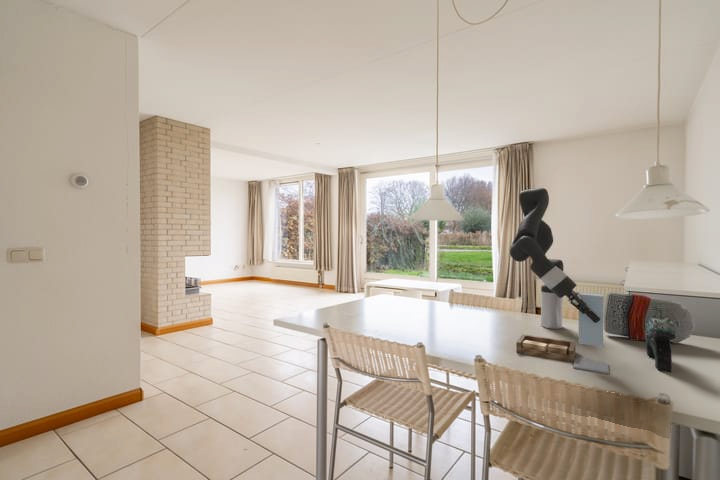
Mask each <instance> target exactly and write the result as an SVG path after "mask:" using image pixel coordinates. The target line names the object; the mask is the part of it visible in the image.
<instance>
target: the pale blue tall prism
mask: <svg viewBox="0 0 720 480" xmlns="http://www.w3.org/2000/svg"><path fill="white" fill-rule="evenodd" d="M578 293H579V295H580V296H581V298H582V299H583V300H584V301H585V302H586V303H587V306H588V307H589V308H590V309H591V310H592V311H593V312H594V313H595V314H596V315H597V316H598V317H599V318H600V321H598V322H597V323H594V322H593V321H592V320H591V319H590V318H589V317H588V316H587V315H585V314H582V312H580V311H579V310H578V344H582V345H586V346H587V345H588V346H594V347H599V348H600V347H601V348H602V347H604V294H596V293H584V292H578ZM582 303H583V302H582ZM582 309H583V310H584V309H585V307H583V308H582Z"/></svg>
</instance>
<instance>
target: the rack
mask: <svg viewBox="0 0 720 480" xmlns="http://www.w3.org/2000/svg"><path fill="white" fill-rule="evenodd" d="M525 340H529V341H535V342H540V343H545V344H548V346H549V344H555V345H561V346H567V347H568V355H565V354H559V353H553V352H547V351H541V350H535V349H529V348H522V342H523V341H525ZM515 345H516V349H515V350H516V353H517V354H518V353H519V354H522V355H523V354H524V355H528V356H529V355H530V356H535V357H541V358H548V359H552V360H557V361H558V360H559V361H564V362H571V363H574V359H575V358H576V356H575V355H576V353H577V352H576V345H577V344H576V341H572V340H566V339H565V340H564V339H558V338H551V337H545V336H537V335H530V334H524V333H522V334H521V335H520V337H519V338H518V340H516V344H515Z"/></svg>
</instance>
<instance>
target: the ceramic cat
mask: <svg viewBox="0 0 720 480" xmlns="http://www.w3.org/2000/svg"><path fill="white" fill-rule="evenodd" d="M659 311H660V313H661V315H660V318H659V316H658V315H654V317H653V318H650V319H649V321H648V324H646V325H645V339H646V340H645V348H646V355H648V356H649V357H648V356H647V357H648V358H651V357H655V358H654V361H655V362H654V363H655V364H654V366H655V368H656V369H657V371H658V372H665V371H666V372H667V373H672V365H673V364H672V362H673V361H672V360H673V357H672V347H671V343H670V340H672V339H675V328H674V324H673V322H672V321H670V318H666V319H665V320H661V319H662V308H660V309H659ZM656 316H657V317H658V319H655V317H656ZM666 372H665V373H666Z"/></svg>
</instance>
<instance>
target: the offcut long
mask: <svg viewBox="0 0 720 480" xmlns="http://www.w3.org/2000/svg"><path fill="white" fill-rule="evenodd" d="M522 348H529V349H535V350H541V351H547V352H548V344H545V343H540V342H535V341H529V340H525V341H523V342H522Z"/></svg>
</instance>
